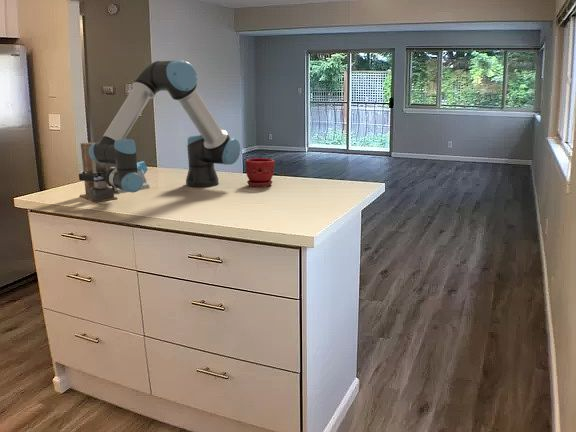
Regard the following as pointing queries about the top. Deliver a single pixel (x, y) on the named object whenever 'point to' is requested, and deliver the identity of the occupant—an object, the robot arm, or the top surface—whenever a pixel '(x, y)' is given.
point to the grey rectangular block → (98, 168)
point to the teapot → (141, 167)
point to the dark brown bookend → (89, 185)
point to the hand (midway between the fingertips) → (96, 172)
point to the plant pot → (259, 172)
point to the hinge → (144, 186)
